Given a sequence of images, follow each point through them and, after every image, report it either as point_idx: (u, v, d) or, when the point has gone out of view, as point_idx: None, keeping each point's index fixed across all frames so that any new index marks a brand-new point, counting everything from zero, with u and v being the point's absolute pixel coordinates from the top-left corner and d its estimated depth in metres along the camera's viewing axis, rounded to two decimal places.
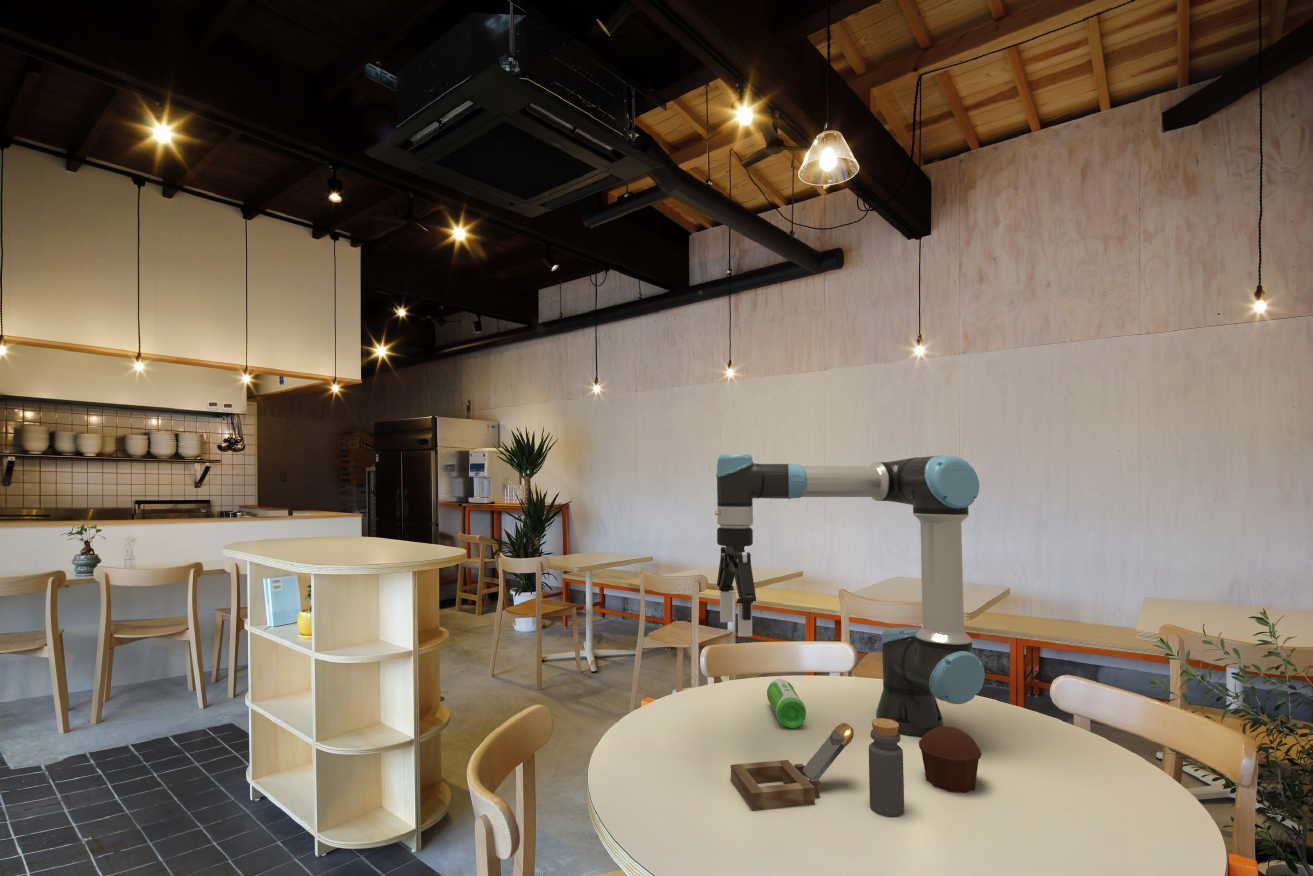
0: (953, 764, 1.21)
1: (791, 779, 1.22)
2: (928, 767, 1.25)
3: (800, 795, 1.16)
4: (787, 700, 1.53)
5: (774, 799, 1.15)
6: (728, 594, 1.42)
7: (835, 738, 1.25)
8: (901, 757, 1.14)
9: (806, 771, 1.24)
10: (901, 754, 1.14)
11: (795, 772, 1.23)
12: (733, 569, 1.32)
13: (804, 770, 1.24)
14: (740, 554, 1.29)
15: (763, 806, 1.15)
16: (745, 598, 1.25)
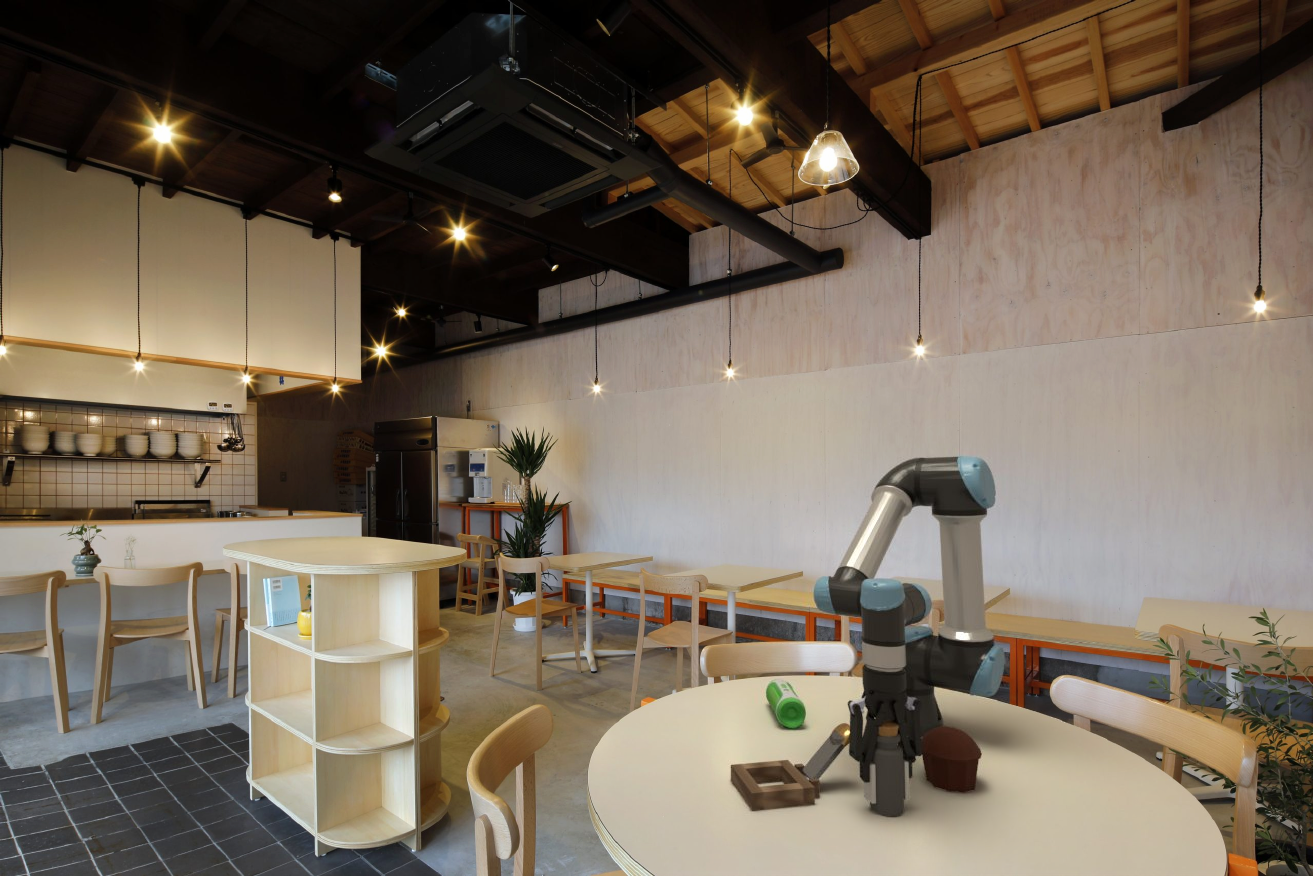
0: (954, 764, 1.21)
1: (791, 779, 1.22)
2: (928, 767, 1.25)
3: (800, 795, 1.16)
4: (786, 700, 1.53)
5: (774, 799, 1.15)
6: None
7: (835, 738, 1.25)
8: (901, 757, 1.14)
9: (806, 771, 1.24)
10: (901, 754, 1.14)
11: (795, 772, 1.23)
12: (866, 716, 1.17)
13: (804, 770, 1.24)
14: (848, 704, 1.16)
15: (763, 806, 1.15)
16: (849, 754, 1.15)
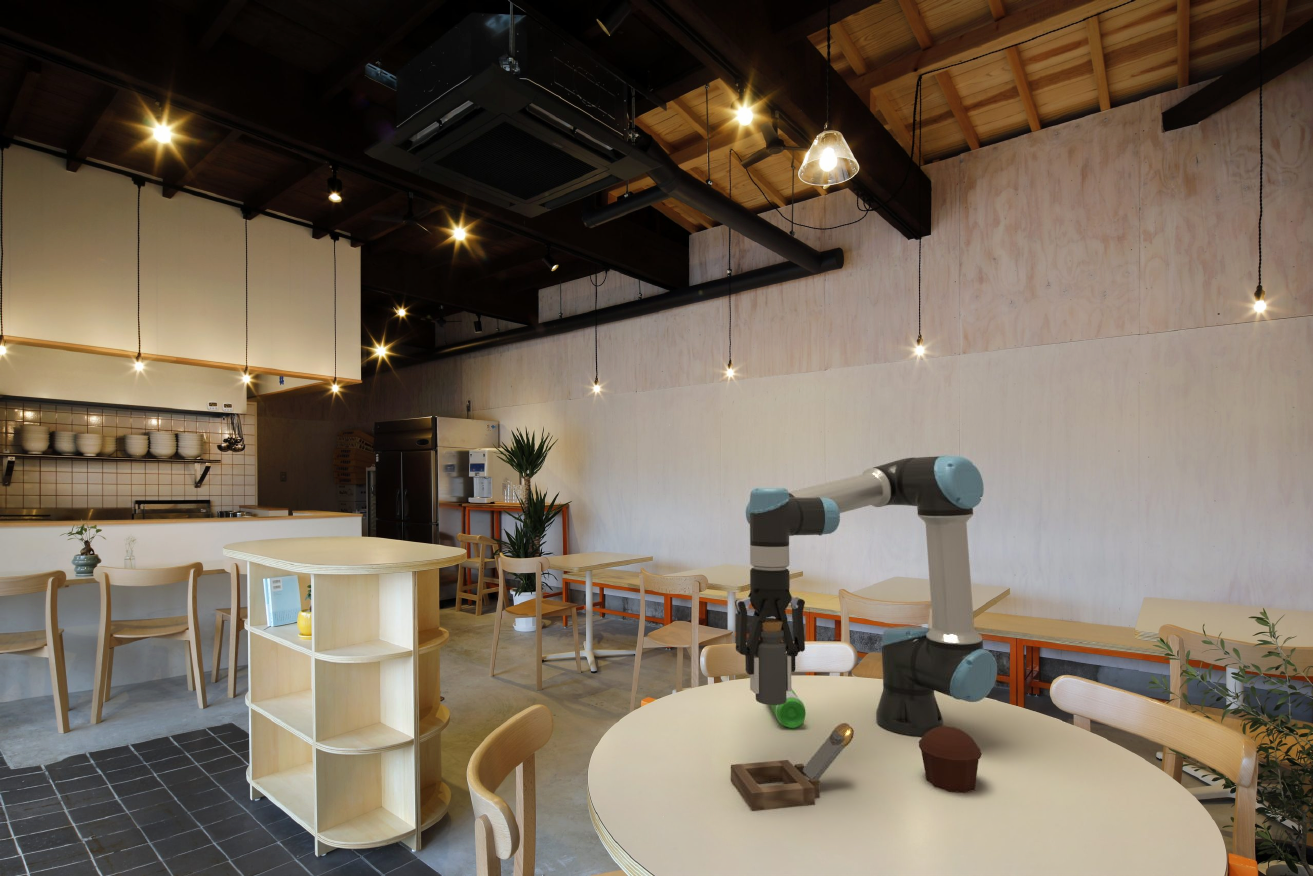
0: (954, 764, 1.21)
1: (791, 779, 1.22)
2: (928, 767, 1.25)
3: (800, 795, 1.16)
4: (786, 700, 1.53)
5: (774, 799, 1.15)
6: None
7: (835, 738, 1.25)
8: (783, 650, 1.21)
9: (806, 771, 1.24)
10: (783, 648, 1.21)
11: (795, 772, 1.23)
12: (753, 615, 1.25)
13: (804, 770, 1.24)
14: (735, 602, 1.23)
15: (763, 806, 1.15)
16: (736, 649, 1.23)
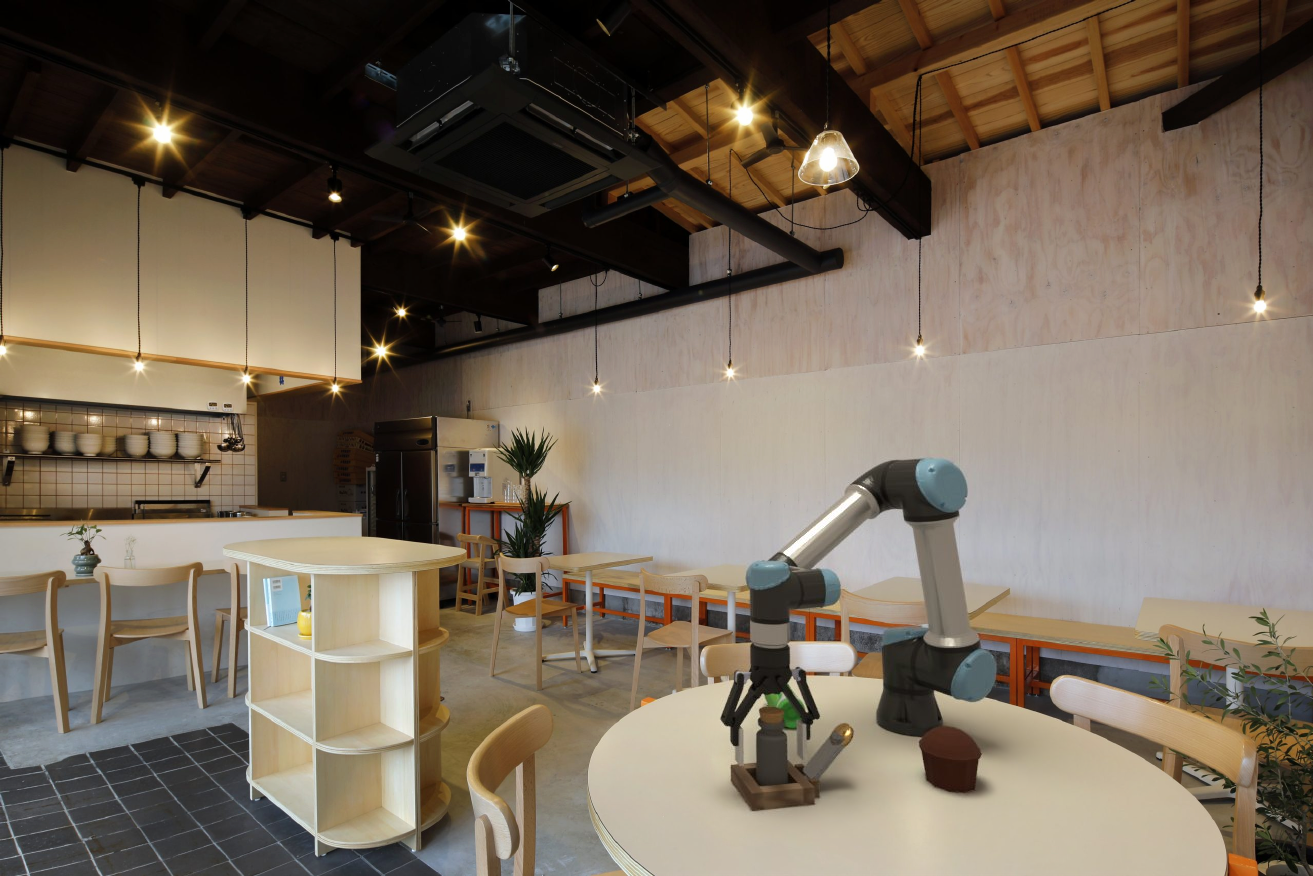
0: (954, 764, 1.21)
1: (791, 779, 1.22)
2: (928, 767, 1.25)
3: (800, 795, 1.16)
4: (786, 700, 1.53)
5: (774, 799, 1.15)
6: (800, 726, 1.23)
7: (835, 738, 1.25)
8: (784, 743, 1.20)
9: (806, 771, 1.24)
10: (784, 740, 1.20)
11: (795, 772, 1.23)
12: (749, 688, 1.23)
13: (804, 770, 1.24)
14: (734, 672, 1.22)
15: (763, 806, 1.15)
16: (720, 718, 1.21)
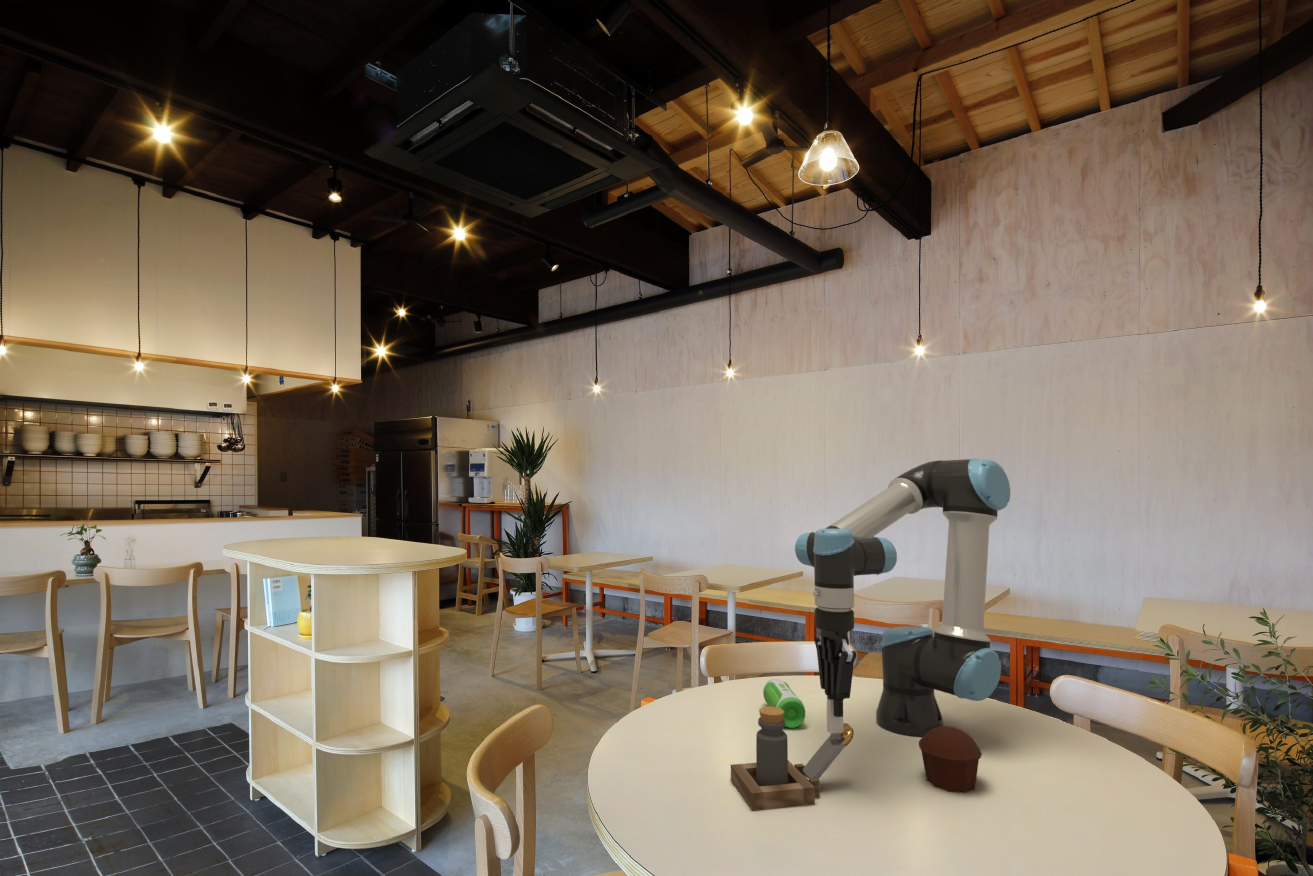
0: (954, 764, 1.21)
1: (791, 779, 1.22)
2: (928, 767, 1.25)
3: (800, 795, 1.16)
4: (786, 700, 1.53)
5: (774, 799, 1.15)
6: None
7: (835, 738, 1.25)
8: (784, 743, 1.20)
9: (806, 771, 1.24)
10: (785, 740, 1.20)
11: (795, 772, 1.23)
12: (832, 660, 1.24)
13: (804, 770, 1.24)
14: (846, 656, 1.20)
15: (763, 806, 1.15)
16: (839, 697, 1.22)
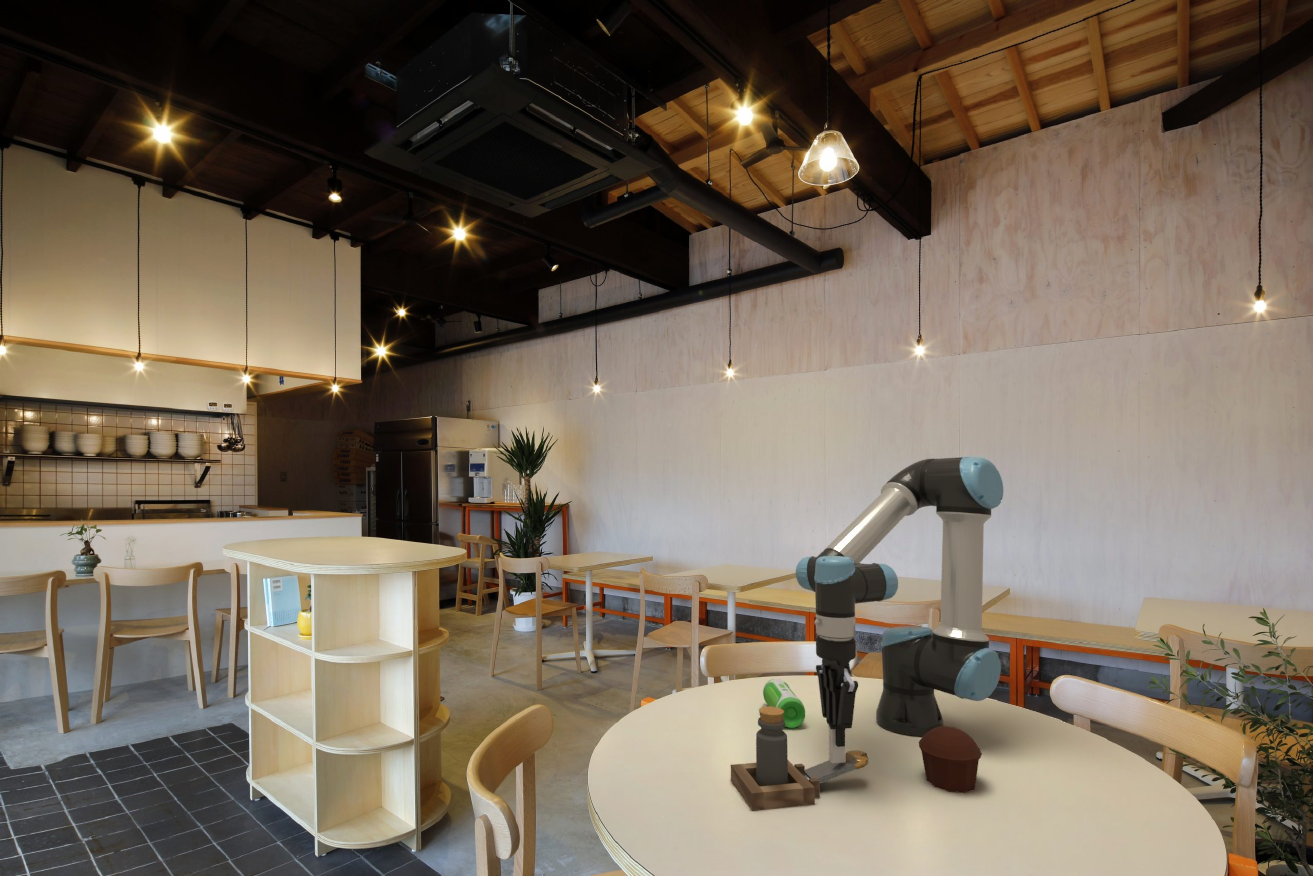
0: (954, 764, 1.21)
1: (791, 779, 1.22)
2: (928, 767, 1.25)
3: (800, 795, 1.16)
4: (786, 700, 1.53)
5: (774, 799, 1.15)
6: None
7: (848, 758, 1.25)
8: (784, 743, 1.20)
9: (808, 772, 1.24)
10: (784, 740, 1.20)
11: (795, 772, 1.23)
12: (833, 690, 1.23)
13: (806, 771, 1.24)
14: (848, 686, 1.19)
15: (763, 806, 1.15)
16: (841, 728, 1.21)
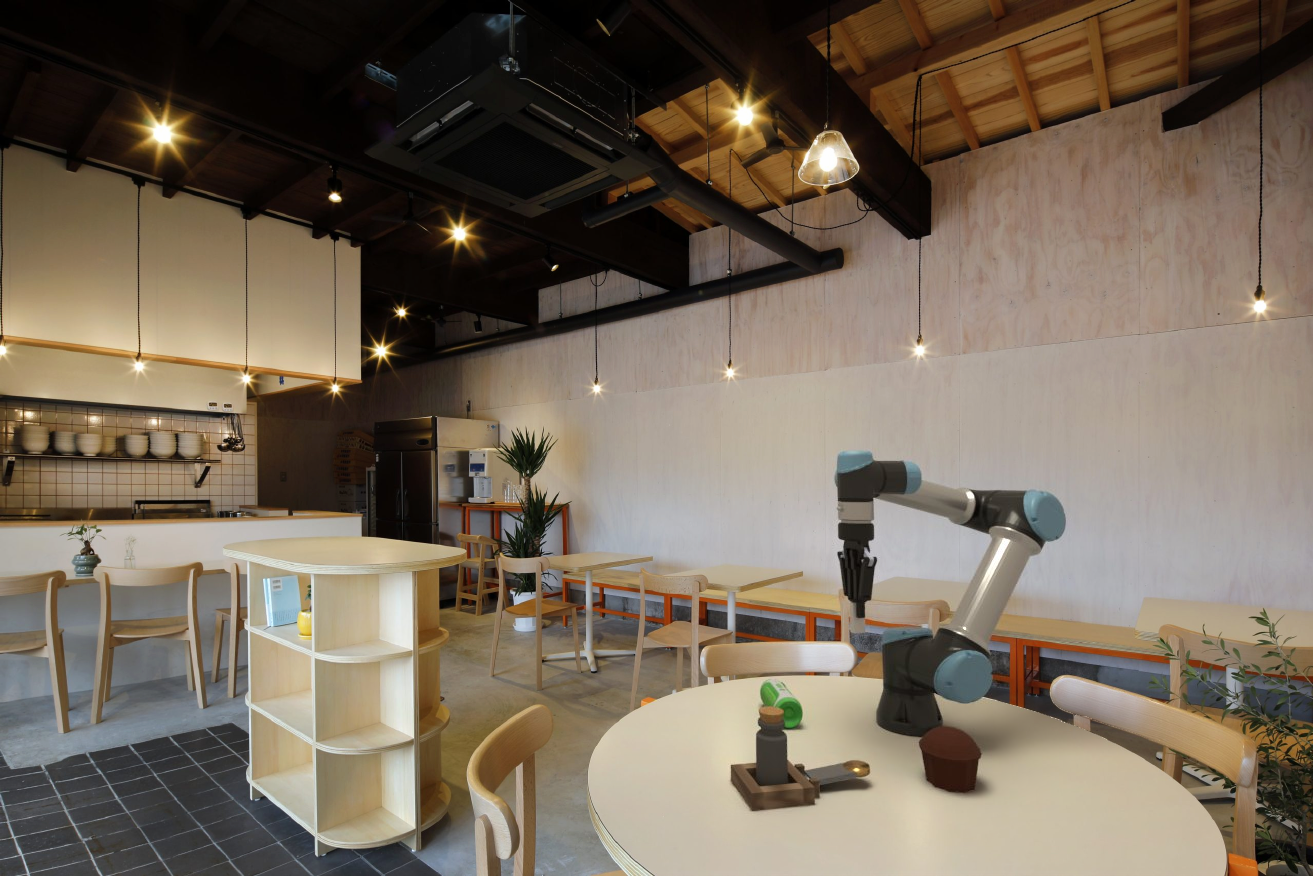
0: (954, 764, 1.21)
1: (791, 779, 1.22)
2: (928, 767, 1.25)
3: (800, 795, 1.16)
4: (784, 700, 1.53)
5: (774, 799, 1.15)
6: None
7: (850, 766, 1.25)
8: (784, 743, 1.20)
9: (809, 773, 1.24)
10: (784, 740, 1.20)
11: (795, 772, 1.23)
12: (854, 567, 1.37)
13: (807, 772, 1.24)
14: (868, 560, 1.33)
15: (763, 806, 1.15)
16: (861, 599, 1.35)
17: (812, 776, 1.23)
